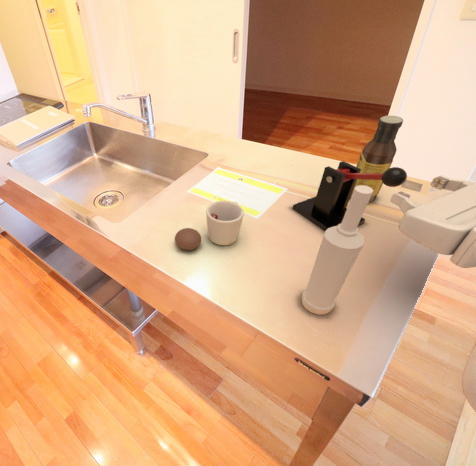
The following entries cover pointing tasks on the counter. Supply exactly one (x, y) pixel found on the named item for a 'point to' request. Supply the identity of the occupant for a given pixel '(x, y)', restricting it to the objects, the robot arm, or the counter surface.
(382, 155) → the sauce bottle
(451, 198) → the robot arm
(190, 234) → the egg
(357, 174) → the lever
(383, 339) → the counter surface
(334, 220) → the press
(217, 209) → the cup
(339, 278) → the bottle
